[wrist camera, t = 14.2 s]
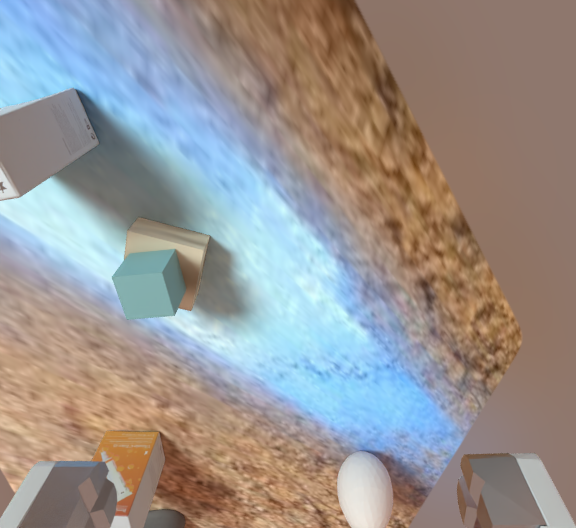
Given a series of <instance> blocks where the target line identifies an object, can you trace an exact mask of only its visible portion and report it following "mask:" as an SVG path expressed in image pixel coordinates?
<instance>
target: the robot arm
mask: <svg viewBox="0 0 576 528" xmlns="http://www.w3.org/2000/svg"><path fill="white" fill-rule="evenodd" d="M461 469H462V472H463V476H461V477H460V478H459V479H458V485H457V495H458V505H459V509H460V514H461V517H462V521H463V524H464V525H465V527H467V528H576V524H575V523H574V521H573V519H572V517H571V515H570V513H569V512H568V510H567V508H566V506H565V504H564V502H563V500H562V498H561V497H560V495H559V493H558V491H557V489H556V488H555V485H554V483H553V482H552V480H551V478H550V476H549V474H548V472H547V470H546V468H545V467H544V465H543V463H542V461H541V459H540V457H538V456H537V455H536V454H535V453H523V454H509V453H500V454H499V453H498V454H468V455H464V456H463V457H462V459H461ZM108 472H109V470H108V467H107V465H106V463H105V462H100V461H39V462H38V463H36V464H35V465H34V466H33V467H32V468H31V469H30V471H29V473H28V474H27V476H26V478H25V479H24V481H23V482H22V484H21V486H20V487H19V489H18V491H17V492H16V494H15V496H14V497H13V499H12V500H11V502H10V504H9V505H8V507H7V508H6V510H5V512H4V513H3V515H2V517H1V518H0V528H110V527H111V525H112V522H113V519H114V516H115V513H116V506H117V491H116V488H115V485H114V483H112V482H111V481H110V480H108V479H107V478H106V477H107V475H108Z"/></svg>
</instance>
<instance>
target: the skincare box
mask: <svg viewBox="0 0 576 528" xmlns="http://www.w3.org/2000/svg"><path fill="white" fill-rule="evenodd" d="M97 145H99V141H98V139H97V137H96V134H95V132H94V130H93V128H92V126H91V123H90V121H89V119H88V117H87V114H86V112H85V109H84V107H83V105H82V102H81V100H80V98H79V96H78V93H77V91H76V89H74V88H69V89H66V90H64V91H62V92H59V93H56V94H53V95H49V96H46V97H43V98H40V99H36V100H33V101H29V102H25V103H21V104H16V105H11V106H6V107H3V108H0V201H1V200H7V199H14V198H19V197H21V196H23V195H24V194H26V193H27V192H29V191H30V190H32V189H33V188H35V187H36V186H38V185H39V184H41V183H42V182H44V181H45V180H47V179H48V178H50V177H51V176H53V175H54V174H56V173H57V172H59V171H60V170H62V169H63V168H65V167H66V166H68V165H69V164H71V163H72V162H74V161H75V160H77V159H78V158H79V157H81V156H82V155H84V154H85V153H87V152H88V151H90V150H91V149H93V148H94V147H96V146H97Z"/></svg>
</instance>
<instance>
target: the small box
mask: <svg viewBox="0 0 576 528" xmlns="http://www.w3.org/2000/svg"><path fill="white" fill-rule="evenodd" d="M91 461H100V462H105V463H106V465H107V467H108V470H109V472H108V475H107V477H106V478H107V479H108V480H110V481H111V482H112V483H114V485H115V488H116V491H117V506H116V513H115V516H114V519H113V522H112V525H111V527H110V528H143V527H144V524H145V521H146V518H147V515H148V512H149V509H150V506H151V503H152V500H153V497H154V494H155V491H156V488H157V485H158V482H159V479H160V475H161V472H162V469H163V466H164V463H165V456H164V451H163V447H162V442H161V438H160V433H159V432H125V431H106V432H105V434H104V436H103V438H102V440H101V442H100V444H99V446H98V448H97V450H96V452H95V454H94V456H93V458H92V460H91Z"/></svg>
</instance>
